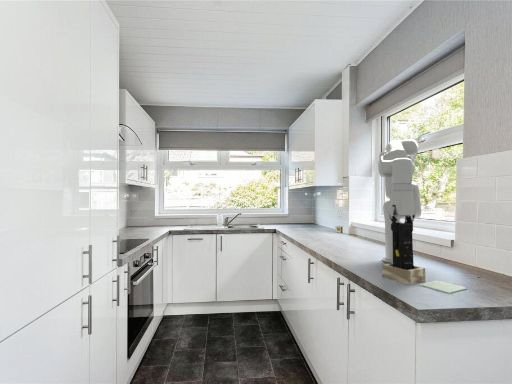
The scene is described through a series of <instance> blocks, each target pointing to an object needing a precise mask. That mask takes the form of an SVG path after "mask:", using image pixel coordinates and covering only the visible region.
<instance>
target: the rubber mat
mask: <svg viewBox="0 0 512 384" xmlns="http://www.w3.org/2000/svg"><path fill="white" fill-rule="evenodd" d="M418 285H419V287H420V286H421V287H424V288H428V289H431V290H435V291H438V292H441V293H444V294H448V295H450V294H453V293H458V292H462V291H465V290H468V287H464V286H460V285H457V284H453V283H448V282H444V281H441V280H433V281H427V282H423V283H419V284H418Z"/></svg>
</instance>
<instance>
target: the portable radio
mask: <svg viewBox="0 0 512 384" xmlns="http://www.w3.org/2000/svg"><path fill="white" fill-rule="evenodd" d="M391 230H392V224H391ZM392 235H393V245H392V246H393V267H397V268H401V269H405V270H412V269H414V266H415V265H414V250H413V249H414V248H413V247H414V246H413V244H414V243H413V231H412V224H411V223H407V221H406V217H405V219H404V222H402V223H400V233H397V232H392Z"/></svg>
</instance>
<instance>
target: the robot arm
mask: <svg viewBox="0 0 512 384" xmlns="http://www.w3.org/2000/svg"><path fill="white" fill-rule="evenodd" d="M418 152H419V144H418V143H417V141H416V140H415V139H403V140H402V139H401V140H392V141H390V142H388V143H387V144H386V146H385V150H383V151H381V152H380V153H379V155H378V156H379V157H378V162H377V168H378V174H379V176H380V177H381V178H383V179H384V192H385V197H386V198H387V199H389V200H387V201H385V202H384V203H383V206H382V211H383V217H384V234H385V235H384V241H385V243H384V245H385V247H384V248H385V252H384V253H385V256H383V257H382V261H383V262H385V263H387V264H391V263H393V246H392V245H393V235H392V232H397V233H400V223H403V222H402V221H401V220H405V217H406V221H407V223H411V224H412V232H414V221H415V220H417V219H419V218H420V217H421V216H422V203H421V194H420V188H419V185H418V183H417V182H415V181H413V175H414V173H415V171H416V167H415V161H416V158H417V156H418V154H419V153H418ZM391 224H392V230H391Z"/></svg>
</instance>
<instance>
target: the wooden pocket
mask: <svg viewBox="0 0 512 384" xmlns="http://www.w3.org/2000/svg"><path fill="white" fill-rule="evenodd" d="M381 266H382V268H381V269H382V271H381V273H382V276H381V277H383V278H385V279H388V280H392V281H396V282H398V283H399V282H400V283H403V284H406V285H413V284H416V283H421V282H425V281H426V268H425V267H421V266H417V265H414V269H412V270H405V269H401V268H397V267H393V263H386V264H382V265H381Z"/></svg>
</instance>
